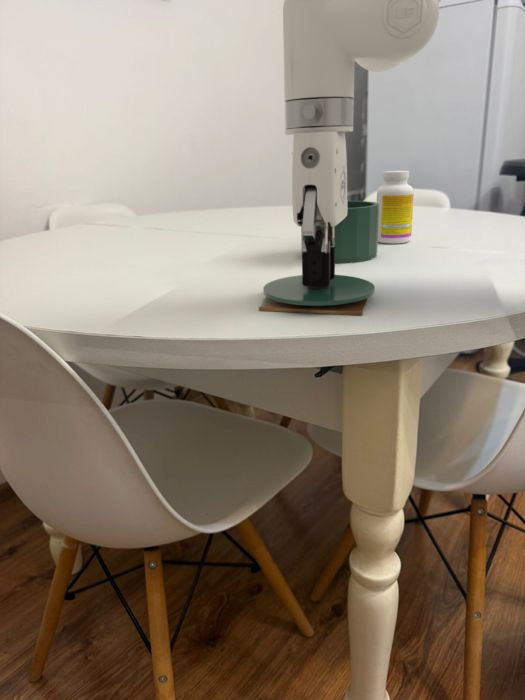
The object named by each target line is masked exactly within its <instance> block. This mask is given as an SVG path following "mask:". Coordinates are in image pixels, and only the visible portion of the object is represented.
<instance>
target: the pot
mask: <svg viewBox="0 0 525 700" xmlns="http://www.w3.org/2000/svg"><path fill="white" fill-rule="evenodd" d="M347 205H348V212H347V216H346V217H345V218H344V219H343V220H342V221H341V222H340V223H339V224H337V225H336V226H335V227H334V246H330V247H335V264H349V263H350V262H352V263H359V261H361V262H365V261H370V260H373V259H375V258H376V257H377V255H378V243H379V242H378V217H379V203H377V201H376V202H375V201H367V200H347ZM300 232H301V233H300V239H301V243H300V244H301V245H300V246H302V226H300ZM374 257H375V258H374ZM372 258H373V259H372ZM369 259H370V260H369Z"/></svg>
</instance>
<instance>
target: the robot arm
mask: <svg viewBox="0 0 525 700" xmlns="http://www.w3.org/2000/svg"><path fill="white" fill-rule="evenodd" d="M441 1H442V0H284V1H283V6H282V35H283V36H282V37H283V38H282V39H283V83H284V84H283V87H284V88H283V89H284V135H287V136H289V135H291V136H292V135H293V140H292V152H291V153H292V154H291V155H292V162H291V163H292V164H291V165H292V167H291V169H292V170H291V171H292V173H291V196H292V197H291V199H292V200H291V202H292V203H291V204H292V218H293V222H294V224H295V225H296V226H298V227H301V226H302V245H301V275H302V284H303V285H304V286H312V287H327V286H328V285H329V284H330V280H332V279H334V277H335V275H336V263H335V247H330V252H327V240H328V241H330V246H334V227H335V226H336V225H337V224H339V223H340V222H341V221H342V220H343V219H344V218H345V217H346V216H347V212H348V205H347V201H348V162H347V161H348V160H347V159H348V158H347V156H348V155H347V142H346V141H347V140H346V133H352V132H354V107H355V102H354V101H355V68H356V67H355V63H357V64H358V65H359V67H361V68H363V69H365V70H366V71H368V72H373V73H382V72H383V73H384V72H386V71H390V70H391V69H394V68H396V67H397V66H398V65H400V64H402V63H404V62H406V61H407V60H409V59H410V58H413V57H414V56H415V55H417V54H418V53H420V52H421V51H422V50H423V49H424V48H425V47H426V46H427V45H428V43H429V42H430V41H431V39H432V37H433V35H434V33H435V32H436V29H437V26H438V23H439V18H440V3H441Z"/></svg>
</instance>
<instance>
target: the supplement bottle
mask: <svg viewBox="0 0 525 700" xmlns="http://www.w3.org/2000/svg"><path fill="white" fill-rule="evenodd" d="M409 178H410V171H409V170H386V171H383V172H382V180H383V184H382V185H381V186H379V187H378V189H377V190H376V203H379V217H378V243H381V244H389V245H390V244H391V245H392V244H393V245H394V244H396V245H397V244H405V243H409V242H411V240H412V227H413V209H414V208H413V207H414V206H413V205H414V188H413V187H412V186H411V185H410V184H408V181H409Z"/></svg>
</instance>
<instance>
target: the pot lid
mask: <svg viewBox="0 0 525 700" xmlns="http://www.w3.org/2000/svg"><path fill="white" fill-rule="evenodd" d="M327 252H330V241H328V240H327ZM375 290H376V286H375V285H374V283H372V282H371V281H369V280H367V279H364V278H360V277H356V276H351V275H344V274H343V275H342V274H335V277H334V279H332V280H330V284H329V285H328V286H327V287H312V286H304V285H303V284H302V274H300V275H291V276H286V277H281V278H277V279H275V280H272V281H270V282H268V283H266V284H264V286H263V287H262V292H263V295H264V296H265V297H266V298H267V299H268V298H269V299H272V300H274V301H278V302H282V303H287V304H294V305H303V306H331V305H339V304H347V303H353V302H357V301H361V300H364V299H366V298H368V297H372V296H373V295H374V294H375V292H376V291H375Z"/></svg>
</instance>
